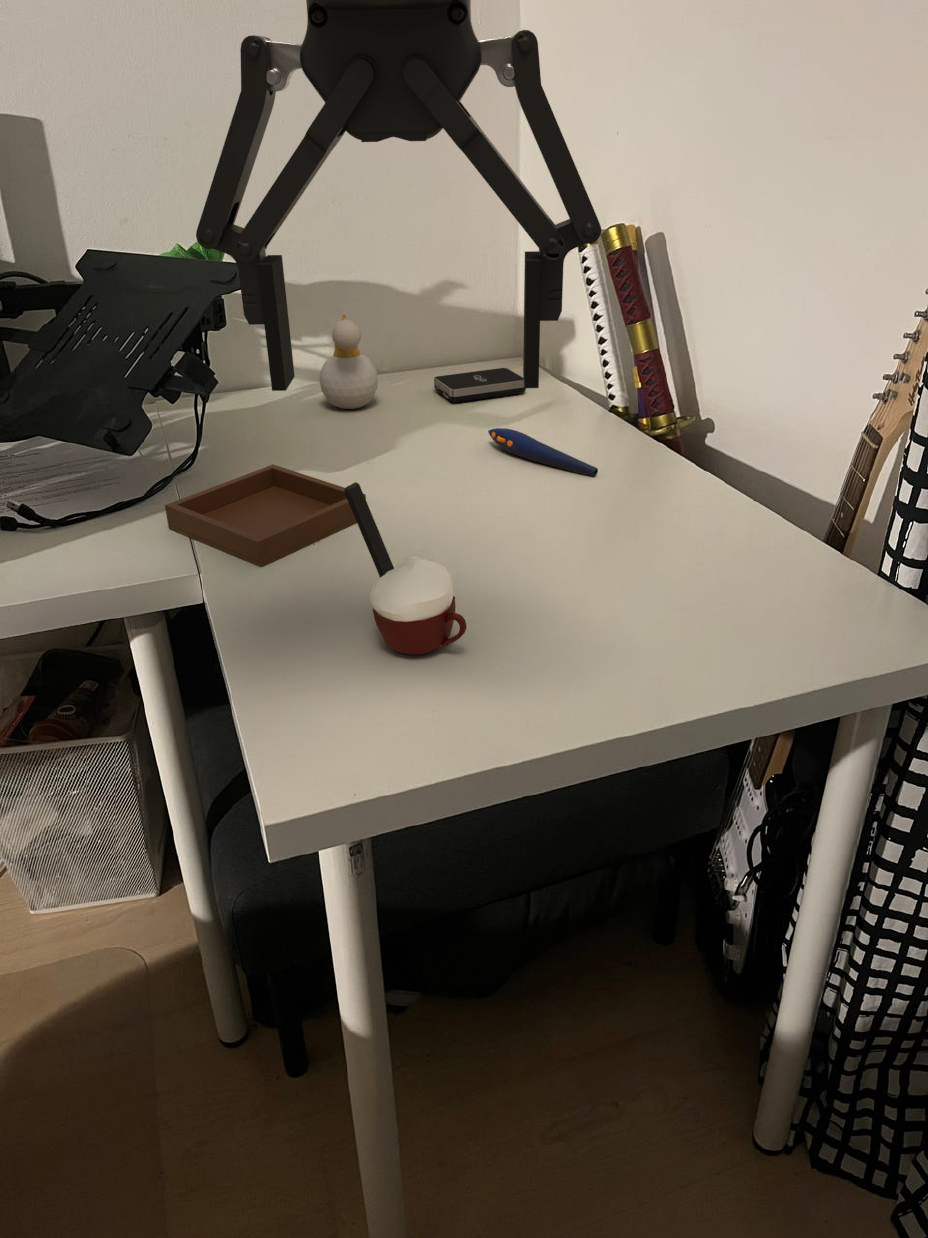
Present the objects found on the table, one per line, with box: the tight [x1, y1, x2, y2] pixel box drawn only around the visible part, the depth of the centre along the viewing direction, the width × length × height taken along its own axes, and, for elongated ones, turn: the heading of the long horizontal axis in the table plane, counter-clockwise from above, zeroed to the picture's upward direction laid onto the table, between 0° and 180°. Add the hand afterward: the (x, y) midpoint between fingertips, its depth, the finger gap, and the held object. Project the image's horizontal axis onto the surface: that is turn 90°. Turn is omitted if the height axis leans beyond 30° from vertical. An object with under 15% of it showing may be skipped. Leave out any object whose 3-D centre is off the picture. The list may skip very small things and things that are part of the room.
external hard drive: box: [433, 367, 527, 403], centre depth 130 cm, size 7×11×2 cm, turn 113°
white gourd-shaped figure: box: [319, 314, 379, 410], centre depth 123 cm, size 8×10×12 cm
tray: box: [164, 464, 367, 568], centre depth 94 cm, size 14×14×2 cm
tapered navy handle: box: [487, 427, 599, 477], centre depth 108 cm, size 16×4×2 cm, turn 46°
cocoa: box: [344, 481, 467, 656], centre depth 72 cm, size 10×6×12 cm, turn 34°
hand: (406, 383), depth 53 cm, fingers open, 13 cm apart
